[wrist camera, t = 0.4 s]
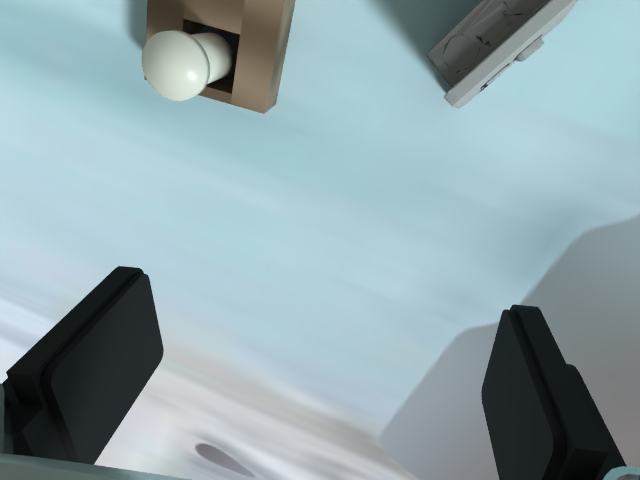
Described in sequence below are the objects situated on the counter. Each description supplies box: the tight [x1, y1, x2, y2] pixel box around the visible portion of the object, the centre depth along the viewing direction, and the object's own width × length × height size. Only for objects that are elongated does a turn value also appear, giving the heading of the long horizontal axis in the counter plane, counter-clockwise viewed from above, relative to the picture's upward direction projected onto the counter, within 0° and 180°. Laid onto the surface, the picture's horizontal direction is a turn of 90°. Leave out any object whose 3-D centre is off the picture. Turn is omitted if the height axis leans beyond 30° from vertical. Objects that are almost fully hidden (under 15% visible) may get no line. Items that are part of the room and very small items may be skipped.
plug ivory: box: [142, 30, 233, 101], centre depth 31 cm, size 4×4×7 cm
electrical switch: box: [426, 0, 578, 108], centre depth 30 cm, size 9×5×9 cm, turn 136°
